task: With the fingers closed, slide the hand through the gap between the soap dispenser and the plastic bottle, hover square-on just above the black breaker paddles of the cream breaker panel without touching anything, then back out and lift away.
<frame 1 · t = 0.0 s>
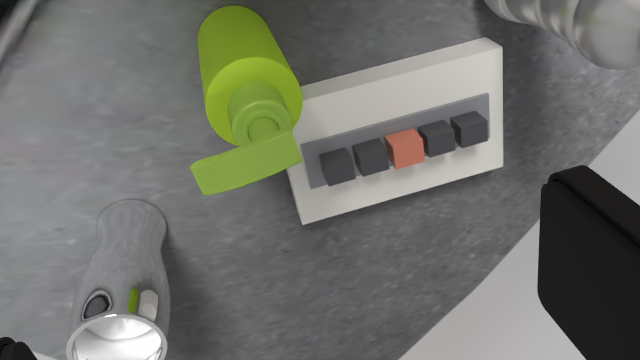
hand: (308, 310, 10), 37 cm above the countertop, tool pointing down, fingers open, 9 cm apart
breaker panel: (386, 126, 51), on the countertop
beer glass: (132, 225, 50), on the countertop
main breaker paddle: (404, 148, 47), point 5 cm above the countertop, hinge at 0.0°
soap dispenser: (228, 44, 44), on the countertop
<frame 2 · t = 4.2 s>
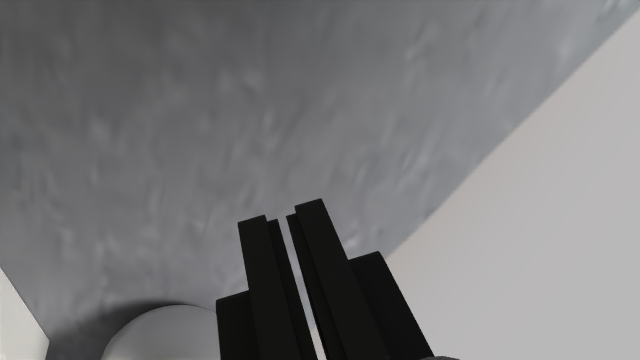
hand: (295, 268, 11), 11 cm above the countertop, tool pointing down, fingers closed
plastic bottle: (173, 335, 26), on the countertop
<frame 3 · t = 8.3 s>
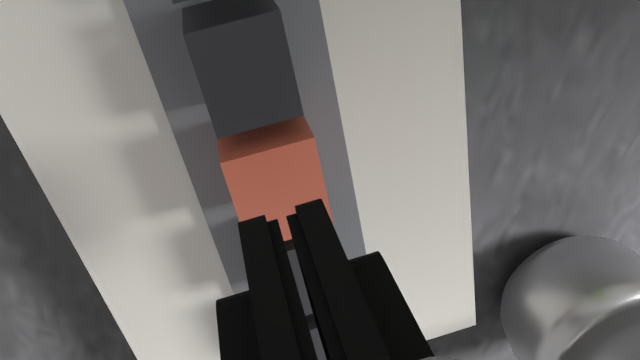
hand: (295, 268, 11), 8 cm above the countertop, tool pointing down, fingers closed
breaker panel: (252, 103, 18), on the countertop
plastic bottle: (546, 272, 26), on the countertop
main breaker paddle: (273, 174, 14), point 5 cm above the countertop, hinge at 0.0°
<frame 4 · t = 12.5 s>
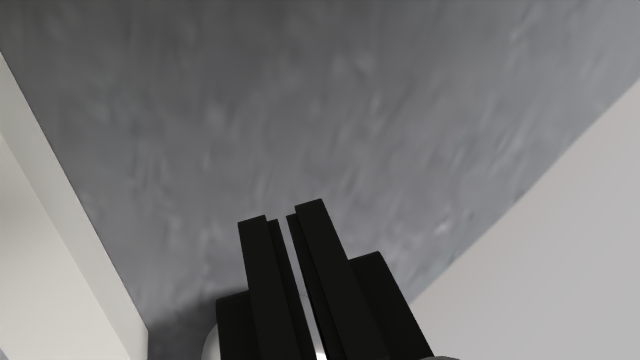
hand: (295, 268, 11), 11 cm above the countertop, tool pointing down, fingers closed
plastic bottle: (265, 324, 26), on the countertop
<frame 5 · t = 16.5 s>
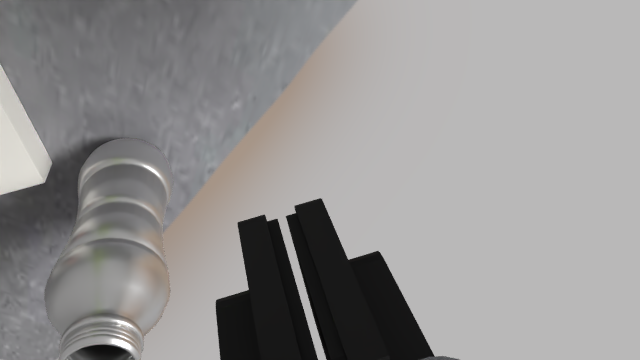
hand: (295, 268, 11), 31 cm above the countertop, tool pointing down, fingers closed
plastic bottle: (129, 165, 43), on the countertop
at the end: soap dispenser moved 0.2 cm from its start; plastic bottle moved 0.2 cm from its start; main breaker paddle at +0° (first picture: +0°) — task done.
